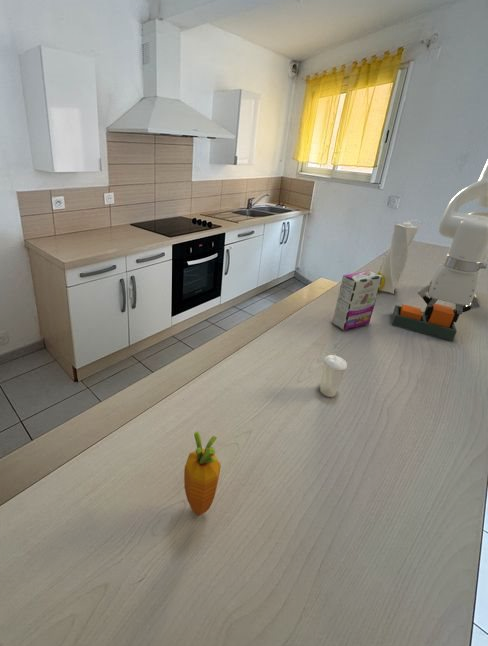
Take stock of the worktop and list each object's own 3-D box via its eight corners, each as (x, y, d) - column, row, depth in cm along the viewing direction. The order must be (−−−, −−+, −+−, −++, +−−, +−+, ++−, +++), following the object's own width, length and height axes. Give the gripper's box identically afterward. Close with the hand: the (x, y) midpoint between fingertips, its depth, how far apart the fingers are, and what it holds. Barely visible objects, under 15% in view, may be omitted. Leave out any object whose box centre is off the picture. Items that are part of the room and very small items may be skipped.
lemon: (377, 289, 125) (383, 270, 122) (384, 295, 120) (390, 276, 116) (363, 288, 125) (368, 269, 122) (369, 294, 120) (374, 274, 117)
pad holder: (392, 314, 107) (395, 305, 105) (448, 328, 100) (453, 319, 98) (392, 325, 100) (395, 315, 99) (452, 341, 93) (456, 331, 92)
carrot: (180, 496, 50) (184, 425, 44) (212, 495, 50) (220, 424, 44) (182, 533, 45) (187, 459, 39) (217, 530, 46) (227, 457, 40)
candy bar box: (355, 316, 104) (369, 269, 98) (369, 324, 100) (384, 276, 94) (330, 322, 100) (342, 274, 93) (343, 331, 96) (357, 281, 89)
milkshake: (337, 385, 74) (347, 349, 70) (339, 401, 69) (350, 364, 66) (316, 380, 75) (325, 344, 72) (316, 396, 71) (326, 359, 67)
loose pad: (427, 315, 100) (432, 302, 99) (446, 320, 98) (452, 307, 96) (428, 322, 96) (433, 309, 95) (449, 327, 94) (454, 314, 92)
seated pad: (398, 316, 105) (402, 304, 103) (416, 321, 102) (421, 308, 100) (398, 323, 101) (402, 310, 99) (417, 328, 98) (422, 315, 96)
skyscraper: (398, 289, 126) (422, 218, 115) (398, 296, 119) (423, 222, 108) (374, 283, 130) (395, 214, 119) (372, 290, 123) (394, 218, 112)
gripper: (497, 267, 89) (472, 323, 96) (424, 254, 97) (405, 307, 104) (505, 275, 83) (477, 335, 90) (425, 261, 91) (405, 317, 98)
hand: (438, 319), depth 97 cm, fingers closed on loose pad, 5 cm apart
